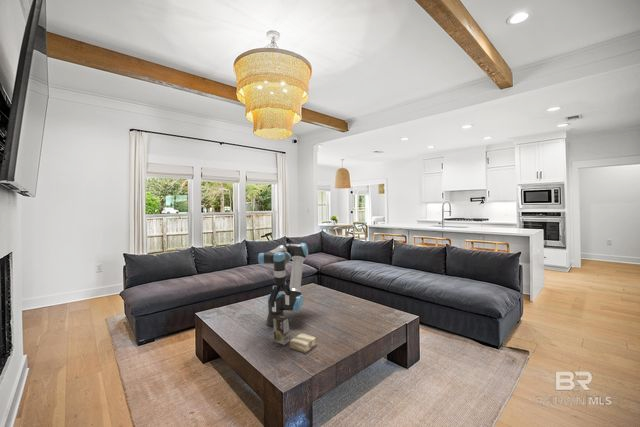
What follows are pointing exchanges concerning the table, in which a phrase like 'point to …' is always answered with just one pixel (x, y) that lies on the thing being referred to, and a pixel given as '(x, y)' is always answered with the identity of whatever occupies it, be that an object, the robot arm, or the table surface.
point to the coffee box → (281, 329)
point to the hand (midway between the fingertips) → (280, 307)
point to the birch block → (303, 342)
